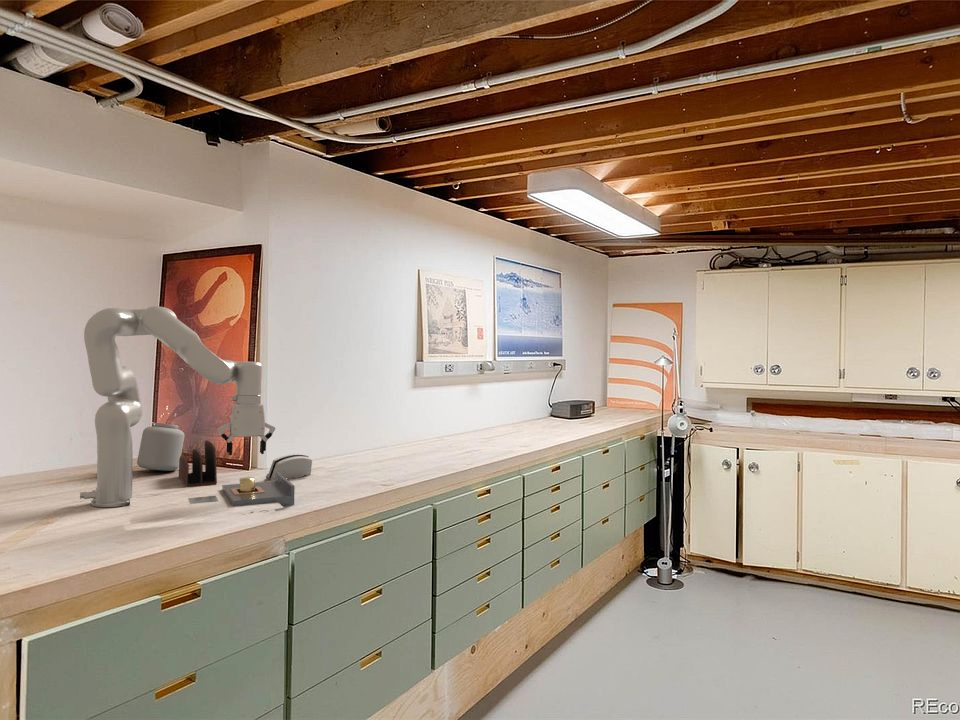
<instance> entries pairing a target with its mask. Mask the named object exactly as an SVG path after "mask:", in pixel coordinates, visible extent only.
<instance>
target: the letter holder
mask: <svg viewBox="0 0 960 720" xmlns="http://www.w3.org/2000/svg"><path fill="white" fill-rule="evenodd" d="M191 451H192V452H191V463H192V465H191V466H192V467H191V468H192V469H191V472H190V471H189V470H190V469H189V468H190V464H189V462H188V460H187V459H186V458H185V457H184V456H183V455H181V456H180V458H179V467H178V478H179V480H180V481H181V483H183V484H184V485H185V487H186V488H194V487H195V488H196V487H203V486H204V487H205V486H216V485H217V484H218V478H217V477H218V476H217V472H218V471H217V455H216V454H217V453H216V452H217V450H216V447H215V445H214V444H213V443H212V441H209V440H204V461H203V455H202V454H201V452H200V451H199V450H198V449H196V448H192V450H191ZM203 462H204V464H205V465H204V464H203ZM203 465H204V469H205V471H203Z"/></svg>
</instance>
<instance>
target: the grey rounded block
mask: <svg viewBox="0 0 960 720" xmlns="http://www.w3.org/2000/svg"><path fill="white" fill-rule="evenodd" d="M312 464H313V459H312V458H311V457H310V456H309V455H307V454H303V453H289V454H285V455H281V456H279V457H277V458H274V459H273V460H272V463H271V466H270V468H269V471H268V473H267V474H266V476H265V479H266V480H269V478H270V481H275V472H279V473H280V474H281V475H282V476H284V477H285V478H288V479H293V478H292V477H294V478H299V477H298V476H300V477H305V476H304V475H307V476H311V473H312V466H313V465H312Z"/></svg>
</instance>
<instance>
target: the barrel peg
mask: <svg viewBox="0 0 960 720" xmlns="http://www.w3.org/2000/svg"><path fill="white" fill-rule="evenodd" d="M255 480H256V477H251V476H248V477H246V476H245V477H241V478H239V484H240V493H247V492H255V482H256V481H255Z"/></svg>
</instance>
